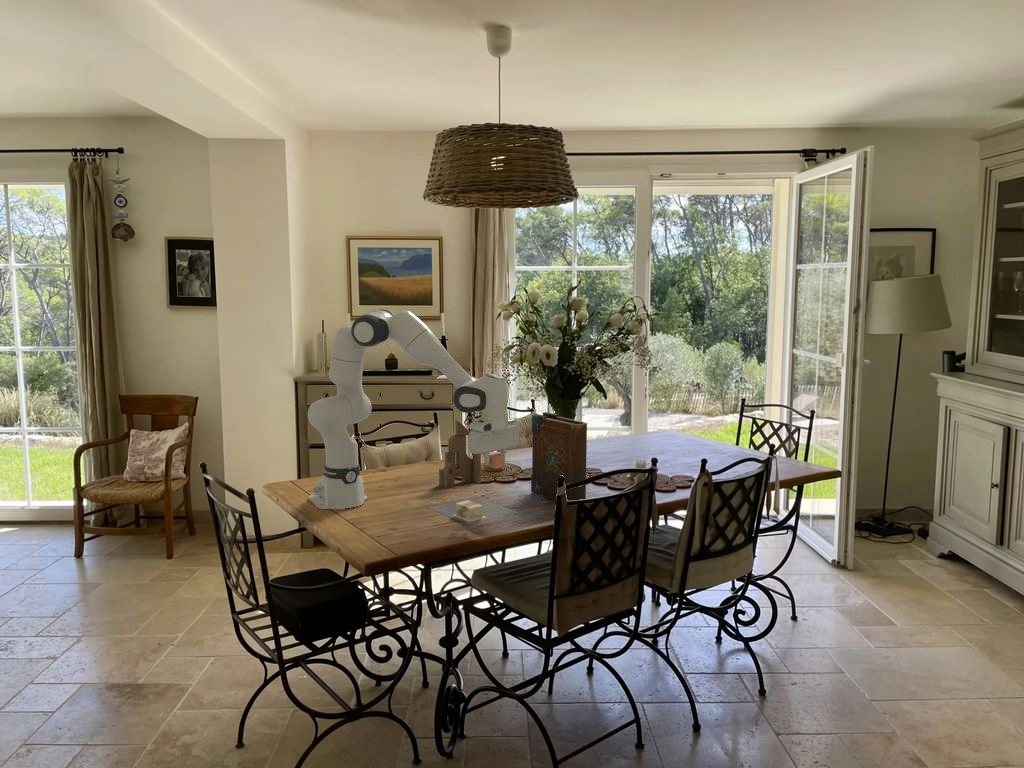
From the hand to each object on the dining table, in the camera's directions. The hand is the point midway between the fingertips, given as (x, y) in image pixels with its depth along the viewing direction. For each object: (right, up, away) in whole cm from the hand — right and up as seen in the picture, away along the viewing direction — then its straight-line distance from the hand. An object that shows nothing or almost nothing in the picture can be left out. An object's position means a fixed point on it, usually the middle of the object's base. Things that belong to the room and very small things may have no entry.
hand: (494, 462), depth 252 cm
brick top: (0, -1, 0) cm, 1 cm away
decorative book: (+23, -15, +20) cm, 34 cm away
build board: (-8, -18, +2) cm, 19 cm away
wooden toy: (-14, -13, +39) cm, 43 cm away
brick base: (-8, -17, -5) cm, 20 cm away
